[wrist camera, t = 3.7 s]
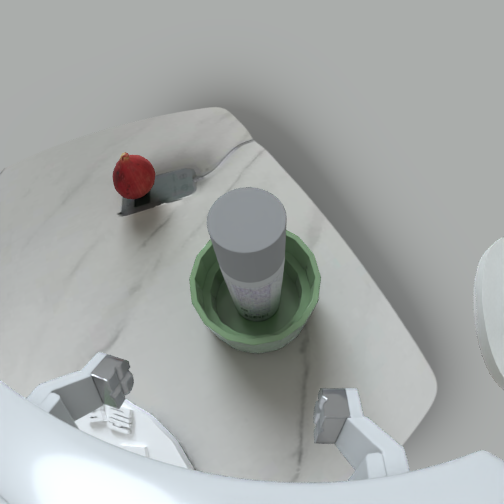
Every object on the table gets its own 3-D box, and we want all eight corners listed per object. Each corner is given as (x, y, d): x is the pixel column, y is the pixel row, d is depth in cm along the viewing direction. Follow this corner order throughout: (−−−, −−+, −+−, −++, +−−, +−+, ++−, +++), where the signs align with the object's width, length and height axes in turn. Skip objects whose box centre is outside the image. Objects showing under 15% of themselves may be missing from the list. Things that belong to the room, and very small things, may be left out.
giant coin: (186, 558, 14) (179, 569, 12) (51, 490, 17) (37, 493, 14) (216, 427, 23) (210, 432, 20) (65, 368, 26) (50, 364, 23)
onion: (139, 217, 35) (115, 178, 28) (118, 199, 37) (94, 162, 30) (169, 188, 37) (151, 147, 30) (146, 173, 39) (128, 135, 32)
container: (288, 295, 29) (305, 209, 15) (261, 331, 27) (254, 272, 14) (252, 271, 30) (239, 174, 17) (225, 304, 29) (187, 226, 15)
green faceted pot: (315, 263, 31) (325, 232, 25) (300, 361, 26) (310, 354, 20) (220, 247, 32) (209, 215, 26) (194, 340, 27) (174, 327, 22)
